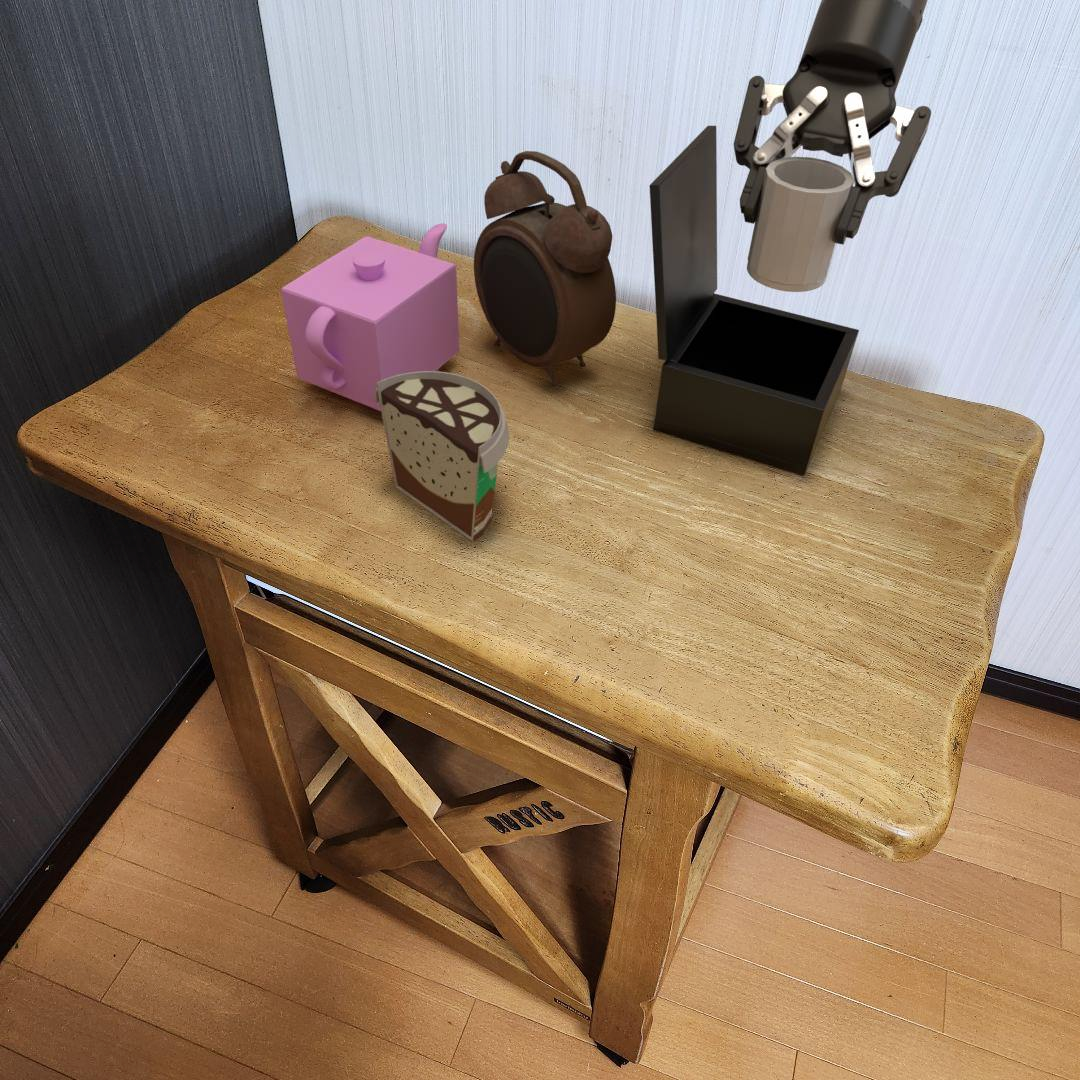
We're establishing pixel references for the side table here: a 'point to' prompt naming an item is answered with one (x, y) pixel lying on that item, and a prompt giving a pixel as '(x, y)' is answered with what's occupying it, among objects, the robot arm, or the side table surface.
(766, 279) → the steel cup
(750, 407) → the black square box
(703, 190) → the black box lid
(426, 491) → the food container
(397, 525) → the side table surface
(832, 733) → the side table surface
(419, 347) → the teapot
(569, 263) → the alarm clock
